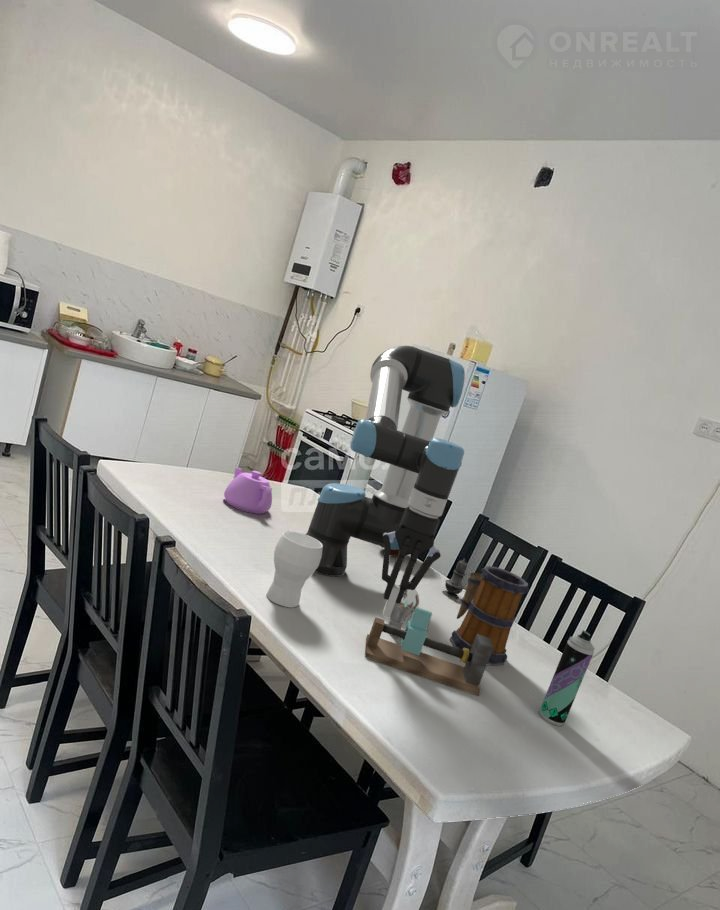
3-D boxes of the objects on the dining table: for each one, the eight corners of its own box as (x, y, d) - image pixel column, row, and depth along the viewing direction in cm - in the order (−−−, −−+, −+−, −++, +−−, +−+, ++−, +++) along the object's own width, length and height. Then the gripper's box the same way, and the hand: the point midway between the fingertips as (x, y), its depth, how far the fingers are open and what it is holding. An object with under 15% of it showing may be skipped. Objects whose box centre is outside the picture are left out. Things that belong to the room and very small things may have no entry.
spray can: (535, 707, 148) (569, 623, 145) (558, 714, 148) (593, 630, 146) (543, 722, 142) (579, 634, 139) (568, 728, 143) (604, 641, 140)
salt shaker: (459, 601, 202) (473, 564, 201) (440, 594, 203) (454, 556, 201) (460, 596, 208) (474, 559, 206) (442, 588, 209) (455, 552, 207)
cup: (312, 605, 162) (332, 546, 159) (290, 614, 152) (311, 552, 150) (275, 585, 165) (294, 527, 163) (251, 594, 156) (271, 532, 154)
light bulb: (409, 634, 164) (426, 588, 163) (402, 642, 158) (419, 595, 156) (382, 621, 166) (399, 576, 164) (374, 629, 160) (391, 582, 158)
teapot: (282, 521, 222) (294, 486, 220) (241, 517, 212) (253, 480, 210) (248, 496, 238) (259, 463, 236) (209, 491, 227) (220, 457, 226)
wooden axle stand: (364, 657, 143) (380, 613, 142) (366, 637, 153) (380, 597, 152) (478, 695, 144) (495, 652, 142) (472, 674, 154) (488, 633, 152)
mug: (429, 622, 177) (456, 551, 174) (474, 629, 183) (501, 560, 180) (469, 663, 159) (499, 584, 157) (517, 669, 166) (547, 593, 163)
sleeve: (401, 649, 146) (415, 610, 145) (400, 641, 150) (414, 603, 149) (419, 655, 146) (433, 617, 145) (418, 647, 150) (432, 609, 149)
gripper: (394, 505, 140) (356, 610, 143) (455, 526, 140) (415, 631, 144) (393, 498, 148) (358, 598, 151) (451, 518, 148) (414, 618, 151)
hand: (386, 614), depth 147 cm, fingers closed
